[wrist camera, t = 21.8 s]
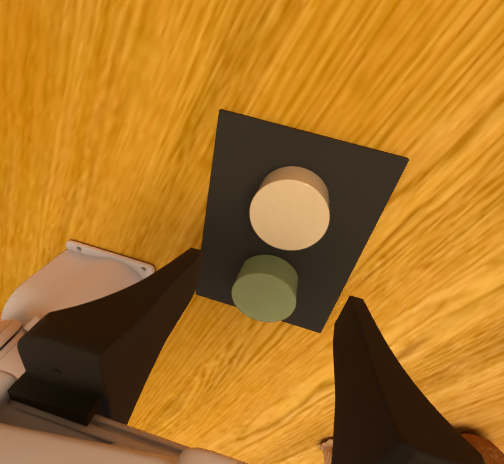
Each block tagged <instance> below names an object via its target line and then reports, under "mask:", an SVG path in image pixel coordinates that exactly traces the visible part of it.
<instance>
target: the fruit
mask: <svg viewBox="0 0 504 464" xmlns="http://www.w3.org/2000/svg"><path fill="white" fill-rule="evenodd" d="M461 435H462V436H463V437H464V438H465V439H466V440H467V441H468V442H469V443H470V444H471V445H472V446H473V447H474V448H475V449H477V450H478V451H479V452H480V453H481V454H482V456H483V459H484V461H485V463H486V464H504V454H503V453H502V452H501V451H500V450H499V449H498V448H497V447H496V446H495V445H494V444H493V443H491V442H490V441H489V440H487V439H485V438H483V437H480V436H477V435H473V434H470V433H462V434H461Z"/></svg>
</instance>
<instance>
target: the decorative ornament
mask: <svg viewBox="0 0 504 464" xmlns="http://www.w3.org/2000/svg"><path fill="white" fill-rule="evenodd" d="M332 446H333V439H328V441H327V442H323V443H322V445H321V450H323V453H324V461H325V464H331V457H332Z"/></svg>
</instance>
